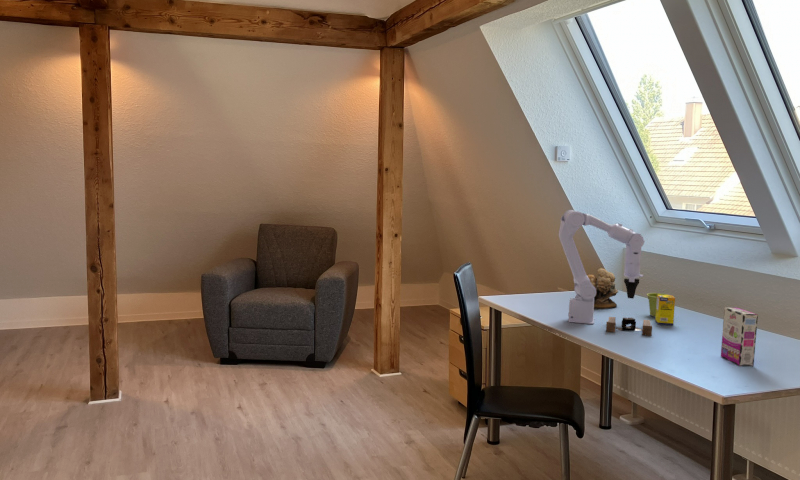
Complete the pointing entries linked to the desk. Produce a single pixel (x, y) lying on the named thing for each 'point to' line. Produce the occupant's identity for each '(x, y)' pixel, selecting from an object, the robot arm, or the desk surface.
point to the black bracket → (626, 322)
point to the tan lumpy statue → (604, 289)
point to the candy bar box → (739, 336)
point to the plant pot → (653, 302)
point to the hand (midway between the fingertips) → (630, 297)
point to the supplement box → (665, 309)
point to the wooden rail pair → (645, 331)
